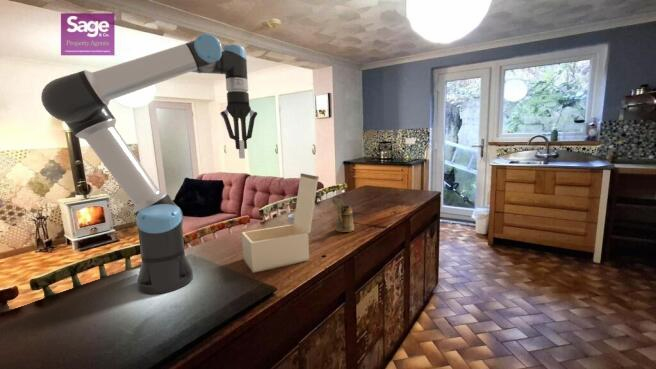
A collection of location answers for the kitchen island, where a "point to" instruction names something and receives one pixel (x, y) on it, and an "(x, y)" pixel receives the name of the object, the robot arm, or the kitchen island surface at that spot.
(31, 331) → the kitchen island surface
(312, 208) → the lid
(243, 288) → the kitchen island surface
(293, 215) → the teacup
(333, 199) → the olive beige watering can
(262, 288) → the kitchen island surface
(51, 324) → the kitchen island surface
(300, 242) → the carton
